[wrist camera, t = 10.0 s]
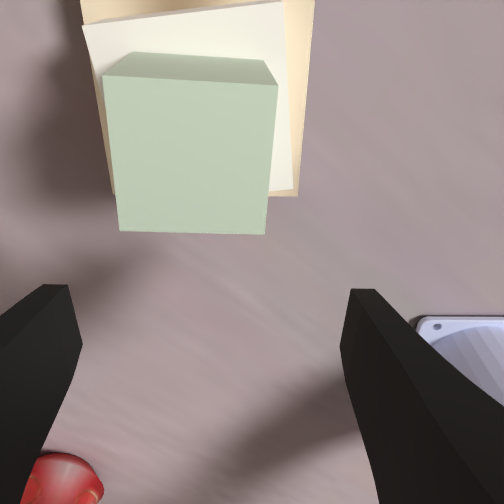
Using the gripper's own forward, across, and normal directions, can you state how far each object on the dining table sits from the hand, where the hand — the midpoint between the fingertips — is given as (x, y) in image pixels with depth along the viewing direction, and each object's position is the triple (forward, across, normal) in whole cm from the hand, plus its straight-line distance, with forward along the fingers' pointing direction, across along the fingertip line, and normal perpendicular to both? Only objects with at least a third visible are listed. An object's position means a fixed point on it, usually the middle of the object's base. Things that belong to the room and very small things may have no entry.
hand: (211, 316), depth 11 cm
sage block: (+6, +1, -3) cm, 7 cm away
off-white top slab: (+8, +1, -4) cm, 9 cm away
